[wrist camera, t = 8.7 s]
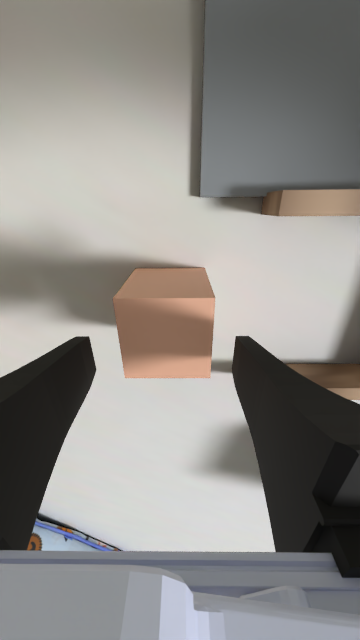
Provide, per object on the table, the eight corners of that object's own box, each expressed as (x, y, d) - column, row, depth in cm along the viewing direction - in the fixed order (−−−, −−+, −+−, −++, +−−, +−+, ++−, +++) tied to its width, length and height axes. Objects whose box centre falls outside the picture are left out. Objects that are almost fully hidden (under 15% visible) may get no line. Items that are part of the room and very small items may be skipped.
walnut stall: (459, 191, 14) (525, 187, 11) (372, 374, 20) (400, 400, 18) (263, 193, 14) (282, 190, 11) (238, 374, 21) (247, 399, 18)
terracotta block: (204, 267, 16) (215, 297, 11) (202, 328, 19) (210, 377, 13) (135, 268, 16) (112, 298, 11) (141, 328, 19) (125, 377, 13)
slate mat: (490, -74, 10) (508, -90, 9) (392, 195, 14) (400, 195, 14) (206, -67, 10) (208, -83, 9) (199, 197, 14) (200, 196, 14)
